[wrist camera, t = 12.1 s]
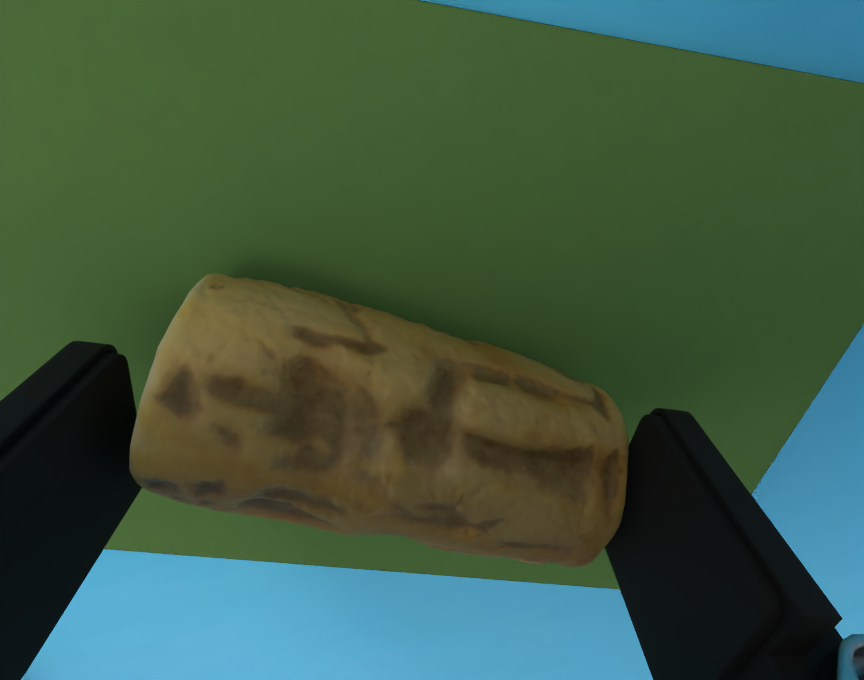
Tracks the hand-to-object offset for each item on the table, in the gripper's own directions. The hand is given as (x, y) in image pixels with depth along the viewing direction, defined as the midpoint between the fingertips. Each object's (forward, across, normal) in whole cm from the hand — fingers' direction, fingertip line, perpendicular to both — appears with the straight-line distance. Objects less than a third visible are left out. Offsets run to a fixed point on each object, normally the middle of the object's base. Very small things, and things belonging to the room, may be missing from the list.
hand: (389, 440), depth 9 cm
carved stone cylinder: (+2, 0, 0) cm, 2 cm away
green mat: (+3, 0, 0) cm, 3 cm away
